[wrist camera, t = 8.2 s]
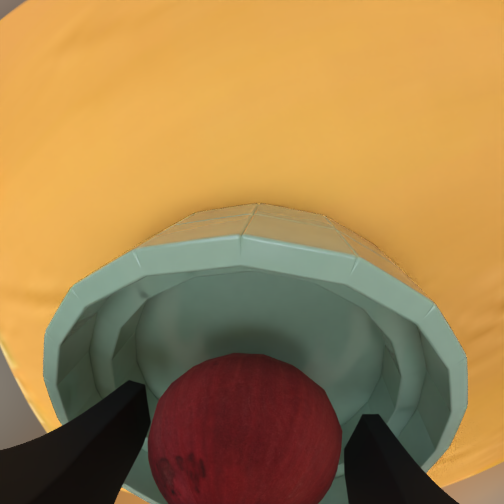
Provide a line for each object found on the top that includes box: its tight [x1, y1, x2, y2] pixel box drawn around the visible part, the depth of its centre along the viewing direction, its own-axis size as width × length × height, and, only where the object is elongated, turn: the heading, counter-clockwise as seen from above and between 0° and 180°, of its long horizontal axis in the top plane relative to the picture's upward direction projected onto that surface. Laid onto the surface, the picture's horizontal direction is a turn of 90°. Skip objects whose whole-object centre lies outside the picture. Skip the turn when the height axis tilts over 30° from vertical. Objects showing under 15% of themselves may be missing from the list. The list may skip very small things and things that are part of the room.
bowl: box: [43, 203, 468, 504], centre depth 9 cm, size 13×13×5 cm
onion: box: [147, 353, 343, 504], centre depth 7 cm, size 6×6×8 cm
